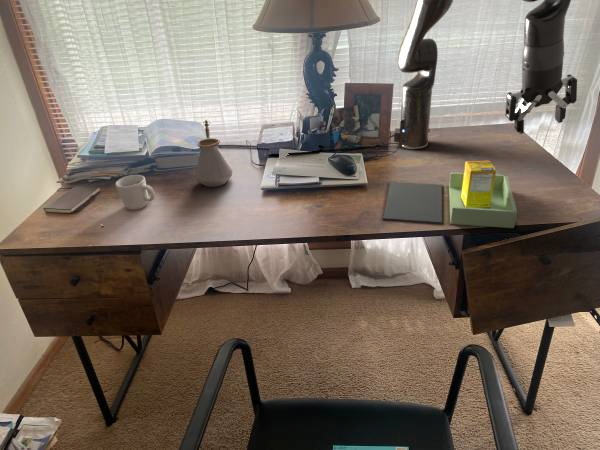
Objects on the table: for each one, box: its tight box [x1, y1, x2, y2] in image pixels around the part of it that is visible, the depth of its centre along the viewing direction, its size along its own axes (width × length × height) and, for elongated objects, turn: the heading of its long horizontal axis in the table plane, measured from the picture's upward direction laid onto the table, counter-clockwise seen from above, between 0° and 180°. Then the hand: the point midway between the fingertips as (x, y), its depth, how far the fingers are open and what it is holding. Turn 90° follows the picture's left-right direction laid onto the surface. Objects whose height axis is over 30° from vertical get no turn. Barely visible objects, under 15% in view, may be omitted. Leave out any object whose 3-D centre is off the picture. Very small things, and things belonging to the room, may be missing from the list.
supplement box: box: [461, 160, 497, 209], centre depth 108 cm, size 6×6×11 cm
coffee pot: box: [194, 119, 234, 188], centre depth 136 cm, size 21×12×15 cm, turn 11°
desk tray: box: [448, 172, 518, 229], centre depth 110 cm, size 14×20×4 cm
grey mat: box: [382, 182, 443, 224], centre depth 115 cm, size 14×20×1 cm
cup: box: [114, 174, 156, 211], centre depth 123 cm, size 11×8×8 cm
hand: (539, 126), depth 101 cm, fingers open, 8 cm apart
